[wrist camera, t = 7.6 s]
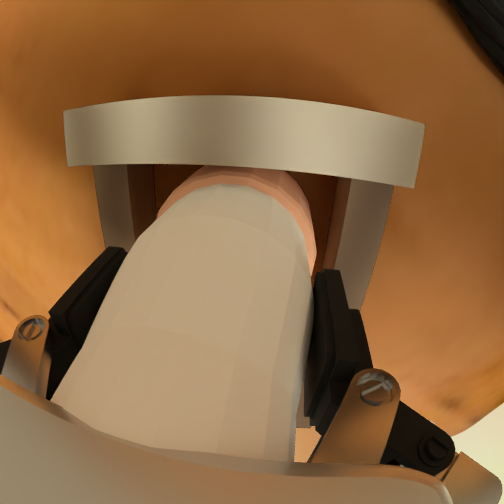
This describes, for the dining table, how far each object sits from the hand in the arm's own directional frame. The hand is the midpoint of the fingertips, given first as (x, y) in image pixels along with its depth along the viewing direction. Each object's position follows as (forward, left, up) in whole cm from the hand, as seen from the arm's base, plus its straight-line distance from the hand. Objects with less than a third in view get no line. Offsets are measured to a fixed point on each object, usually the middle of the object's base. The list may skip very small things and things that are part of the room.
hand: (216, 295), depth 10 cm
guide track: (0, +5, -7) cm, 9 cm away
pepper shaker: (0, 0, -6) cm, 6 cm away
